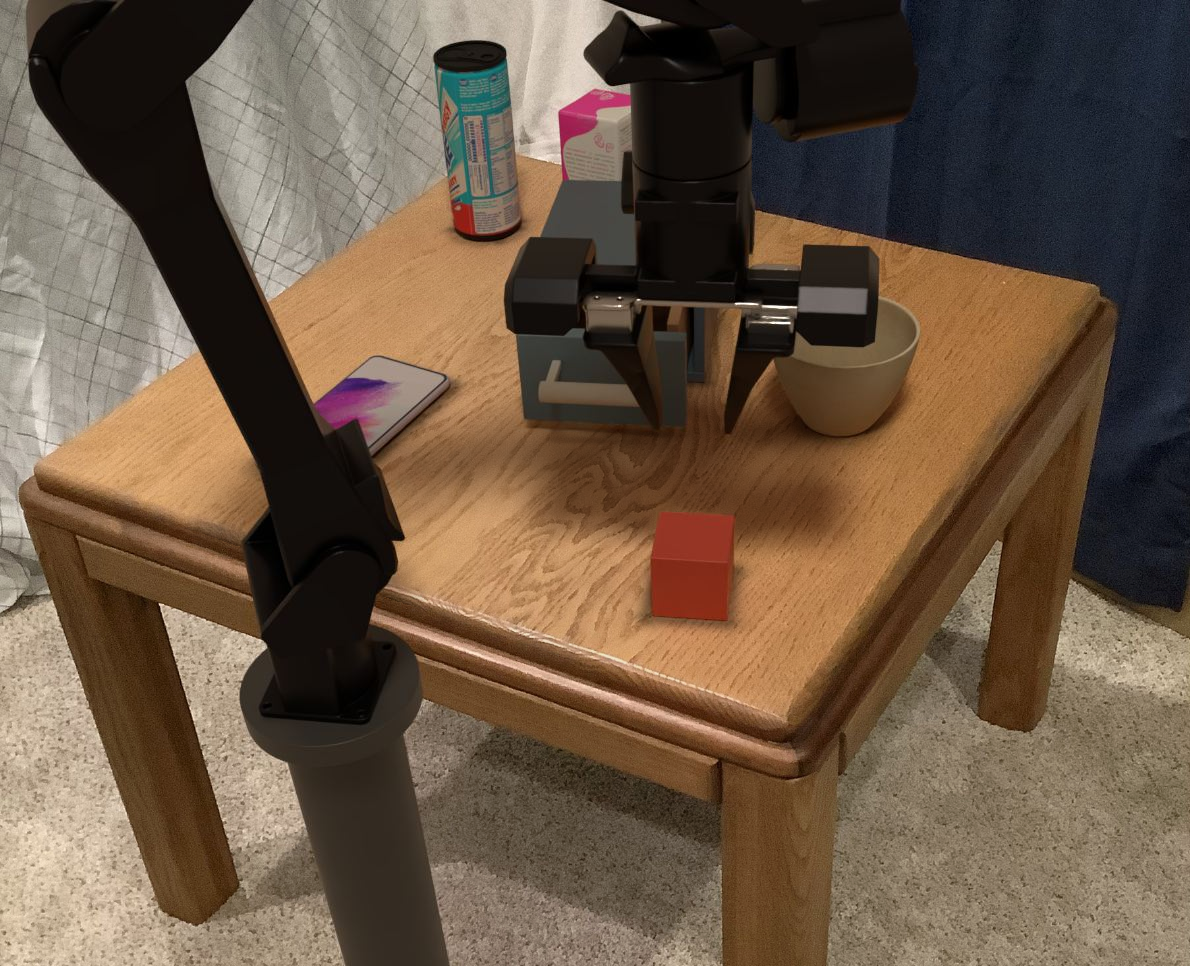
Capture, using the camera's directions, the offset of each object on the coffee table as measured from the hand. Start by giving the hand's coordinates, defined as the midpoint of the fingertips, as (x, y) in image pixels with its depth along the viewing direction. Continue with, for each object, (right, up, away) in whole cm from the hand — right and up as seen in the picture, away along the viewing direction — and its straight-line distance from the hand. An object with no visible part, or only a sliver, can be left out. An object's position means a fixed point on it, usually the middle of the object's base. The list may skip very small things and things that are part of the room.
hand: (692, 428), depth 79 cm
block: (+1, -9, +8) cm, 12 cm away
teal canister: (-15, +24, +46) cm, 54 cm away
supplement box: (-4, +22, +43) cm, 49 cm away
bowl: (+12, +4, +21) cm, 25 cm away
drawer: (-4, +6, +24) cm, 25 cm away
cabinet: (-2, +12, +32) cm, 34 cm away
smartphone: (-23, +4, +24) cm, 33 cm away
